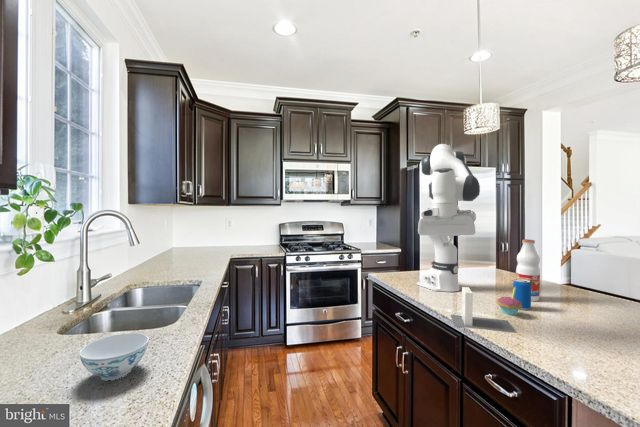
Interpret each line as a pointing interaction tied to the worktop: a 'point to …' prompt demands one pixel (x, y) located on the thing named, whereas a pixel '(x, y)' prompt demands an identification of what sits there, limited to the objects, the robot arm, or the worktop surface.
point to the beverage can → (523, 292)
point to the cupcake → (509, 304)
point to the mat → (484, 324)
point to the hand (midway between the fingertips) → (446, 246)
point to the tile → (467, 305)
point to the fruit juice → (529, 267)
